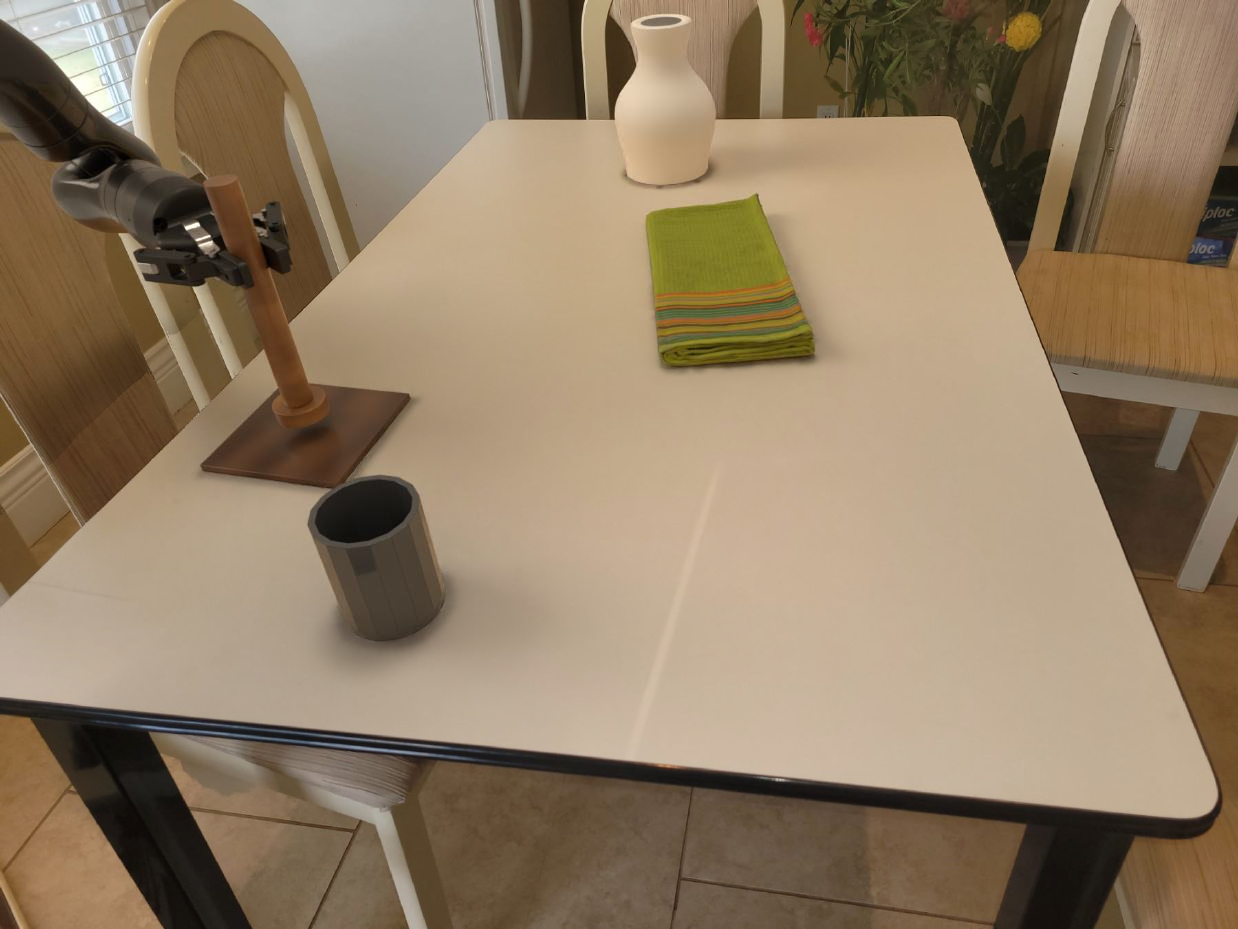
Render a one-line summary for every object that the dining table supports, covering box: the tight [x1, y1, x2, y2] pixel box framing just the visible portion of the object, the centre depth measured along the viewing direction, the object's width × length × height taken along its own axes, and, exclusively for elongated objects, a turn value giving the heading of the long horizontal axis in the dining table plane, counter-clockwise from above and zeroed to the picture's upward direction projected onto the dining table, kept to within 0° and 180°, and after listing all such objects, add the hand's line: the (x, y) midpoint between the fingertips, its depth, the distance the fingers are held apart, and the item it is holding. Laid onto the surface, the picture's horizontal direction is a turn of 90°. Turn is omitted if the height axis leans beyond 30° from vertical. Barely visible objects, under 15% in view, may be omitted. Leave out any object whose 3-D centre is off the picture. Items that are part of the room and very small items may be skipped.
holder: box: [306, 474, 446, 641], centre depth 63 cm, size 7×7×9 cm
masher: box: [202, 173, 330, 428], centre depth 75 cm, size 5×5×22 cm
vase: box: [614, 13, 717, 186], centre depth 124 cm, size 14×14×20 cm
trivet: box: [199, 382, 411, 489], centre depth 83 cm, size 14×14×1 cm
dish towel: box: [645, 192, 816, 367], centre depth 100 cm, size 15×36×3 cm, turn 1°
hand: (265, 268), depth 71 cm, fingers closed on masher, 2 cm apart
